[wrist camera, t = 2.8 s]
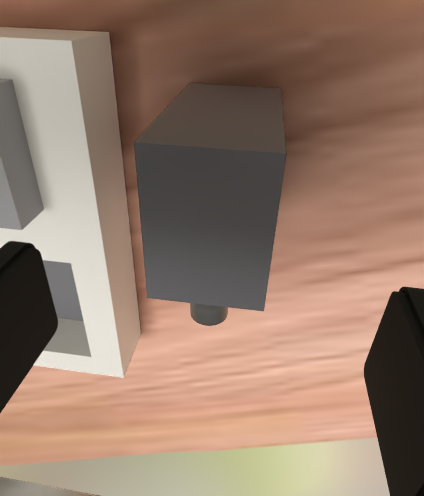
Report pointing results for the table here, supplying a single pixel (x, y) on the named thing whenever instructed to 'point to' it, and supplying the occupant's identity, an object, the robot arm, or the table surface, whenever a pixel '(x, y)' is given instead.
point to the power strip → (69, 191)
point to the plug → (211, 197)
